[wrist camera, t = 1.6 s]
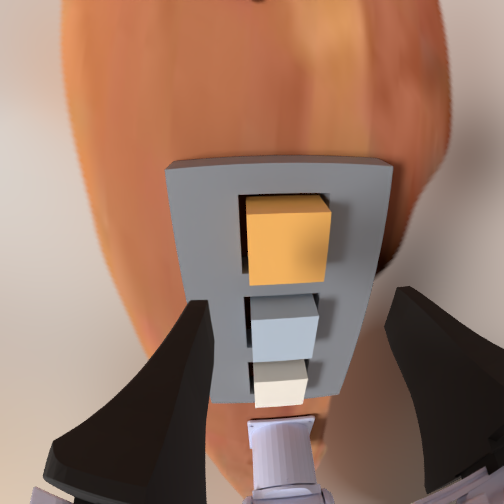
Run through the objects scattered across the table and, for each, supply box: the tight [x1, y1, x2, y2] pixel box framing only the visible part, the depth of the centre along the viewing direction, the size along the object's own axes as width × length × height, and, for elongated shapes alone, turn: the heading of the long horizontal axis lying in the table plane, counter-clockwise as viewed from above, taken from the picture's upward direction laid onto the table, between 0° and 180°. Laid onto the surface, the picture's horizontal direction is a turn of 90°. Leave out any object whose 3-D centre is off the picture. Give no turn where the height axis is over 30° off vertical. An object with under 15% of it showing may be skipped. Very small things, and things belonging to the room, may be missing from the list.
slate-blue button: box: [250, 293, 319, 362], centre depth 19 cm, size 4×4×2 cm
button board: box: [165, 155, 393, 403], centre depth 20 cm, size 21×12×2 cm, turn 2°
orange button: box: [246, 195, 332, 286], centre depth 15 cm, size 4×4×2 cm
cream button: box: [253, 359, 308, 408], centre depth 22 cm, size 4×4×2 cm
